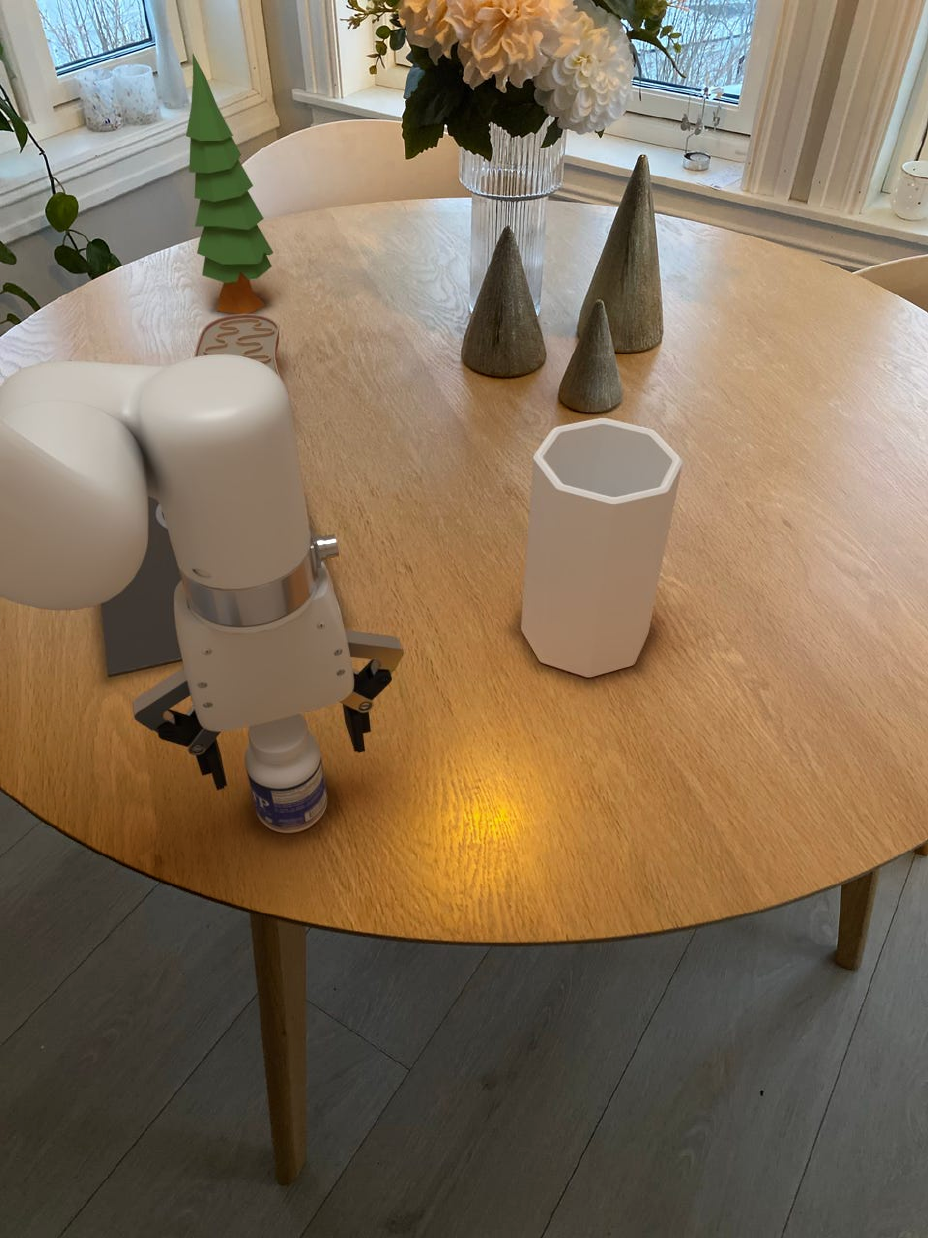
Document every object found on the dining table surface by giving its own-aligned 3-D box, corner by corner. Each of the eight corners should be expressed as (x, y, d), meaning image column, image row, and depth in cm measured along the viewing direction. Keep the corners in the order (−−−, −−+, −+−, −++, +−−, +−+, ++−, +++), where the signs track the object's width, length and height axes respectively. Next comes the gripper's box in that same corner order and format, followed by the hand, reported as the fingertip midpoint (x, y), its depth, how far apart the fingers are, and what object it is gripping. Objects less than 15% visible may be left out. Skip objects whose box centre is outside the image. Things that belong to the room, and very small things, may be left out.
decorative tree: (212, 290, 132) (168, 42, 111) (281, 287, 133) (250, 41, 112) (206, 323, 125) (158, 65, 104) (279, 320, 126) (245, 64, 105)
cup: (520, 588, 88) (532, 414, 76) (641, 591, 88) (673, 417, 76) (521, 677, 80) (535, 499, 68) (654, 681, 80) (693, 503, 67)
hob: (108, 676, 80) (107, 673, 80) (91, 504, 97) (90, 500, 97) (342, 625, 85) (342, 621, 84) (287, 469, 102) (286, 465, 101)
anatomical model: (293, 449, 104) (287, 409, 101) (200, 458, 103) (191, 418, 100) (282, 348, 121) (277, 310, 117) (201, 354, 119) (194, 316, 116)
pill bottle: (248, 789, 72) (229, 711, 66) (315, 767, 73) (303, 689, 67) (266, 845, 68) (249, 769, 62) (337, 821, 70) (326, 744, 64)
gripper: (377, 503, 60) (393, 687, 71) (89, 562, 56) (156, 746, 68) (412, 579, 54) (422, 763, 66) (97, 650, 51) (168, 833, 62)
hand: (288, 755), depth 67 cm, fingers open, 9 cm apart
